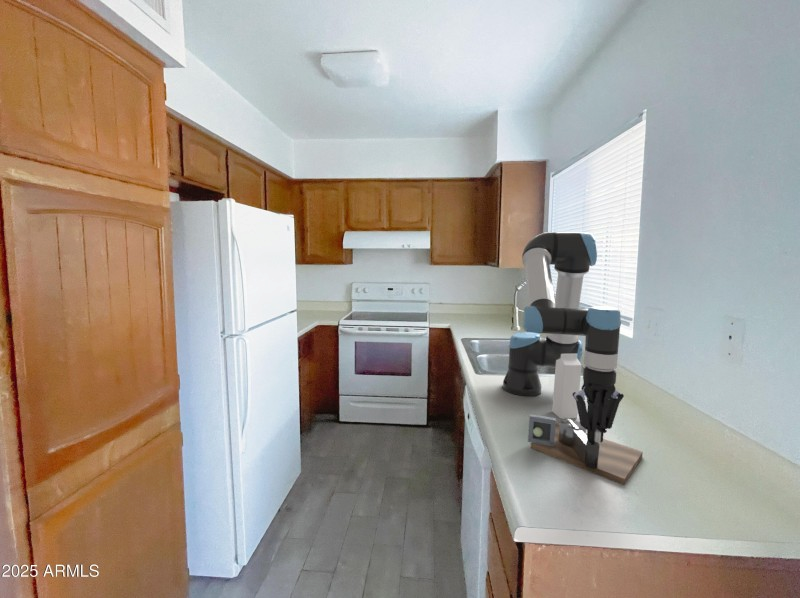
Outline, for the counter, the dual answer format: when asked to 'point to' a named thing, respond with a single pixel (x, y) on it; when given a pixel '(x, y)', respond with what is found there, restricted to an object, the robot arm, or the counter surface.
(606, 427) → the robot arm
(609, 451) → the stand board
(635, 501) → the counter surface
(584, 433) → the crank handle
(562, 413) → the milk
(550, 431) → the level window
